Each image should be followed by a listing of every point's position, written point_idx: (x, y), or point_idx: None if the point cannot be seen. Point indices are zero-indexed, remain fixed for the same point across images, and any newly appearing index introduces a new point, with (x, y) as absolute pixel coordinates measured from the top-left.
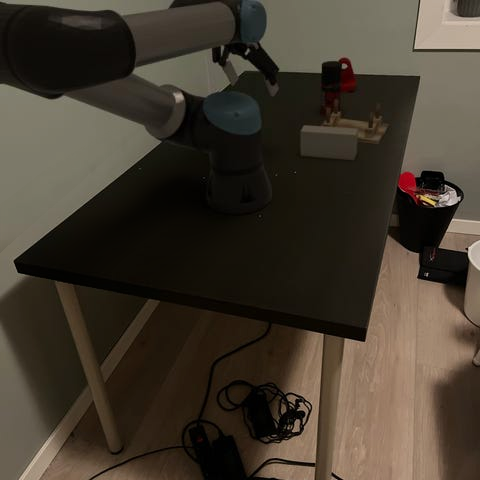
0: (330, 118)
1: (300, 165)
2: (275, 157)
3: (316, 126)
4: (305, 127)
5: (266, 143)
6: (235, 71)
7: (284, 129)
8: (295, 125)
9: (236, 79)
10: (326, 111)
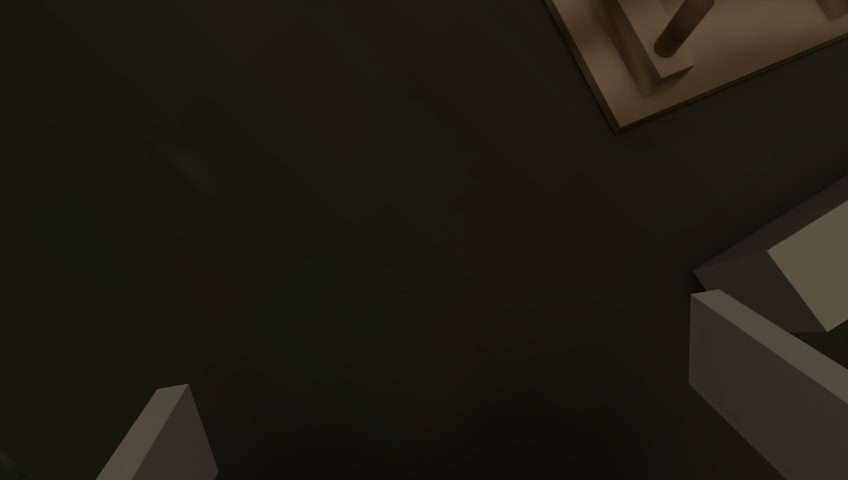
0: (636, 5)
1: None
2: (666, 431)
3: (832, 216)
4: (798, 269)
5: (506, 347)
6: (144, 458)
7: (447, 172)
8: (452, 106)
9: (191, 423)
10: (691, 20)
